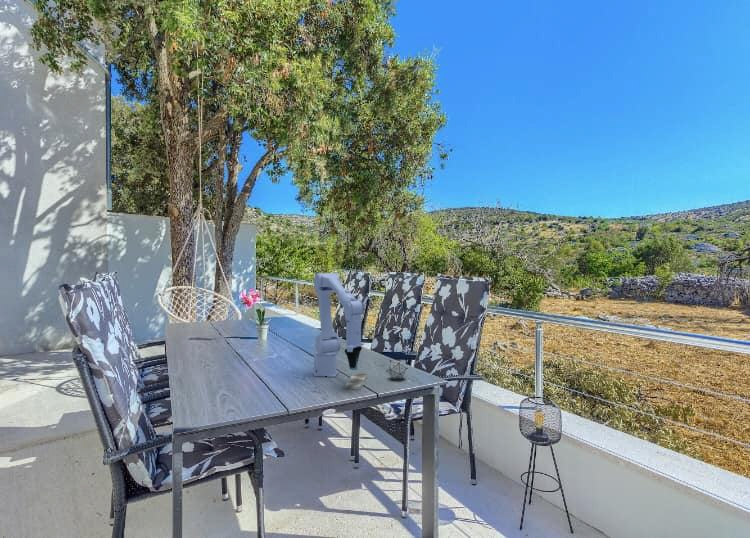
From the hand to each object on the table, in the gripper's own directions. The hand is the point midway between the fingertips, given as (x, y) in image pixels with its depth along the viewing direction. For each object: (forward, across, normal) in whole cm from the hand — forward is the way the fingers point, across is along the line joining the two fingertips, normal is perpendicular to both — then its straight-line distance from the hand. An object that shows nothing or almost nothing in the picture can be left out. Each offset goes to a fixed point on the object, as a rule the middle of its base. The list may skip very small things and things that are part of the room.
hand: (353, 366), depth 155 cm
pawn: (+1, 0, 0) cm, 1 cm away
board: (+8, +7, 0) cm, 11 cm away
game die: (+8, +14, -16) cm, 23 cm away
